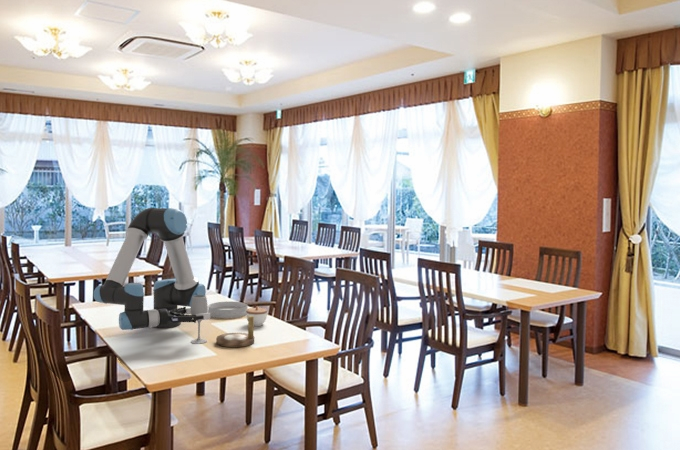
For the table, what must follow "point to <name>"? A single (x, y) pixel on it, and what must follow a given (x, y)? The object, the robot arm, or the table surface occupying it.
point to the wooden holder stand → (238, 337)
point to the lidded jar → (257, 315)
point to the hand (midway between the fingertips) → (205, 312)
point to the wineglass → (199, 307)
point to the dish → (227, 309)
